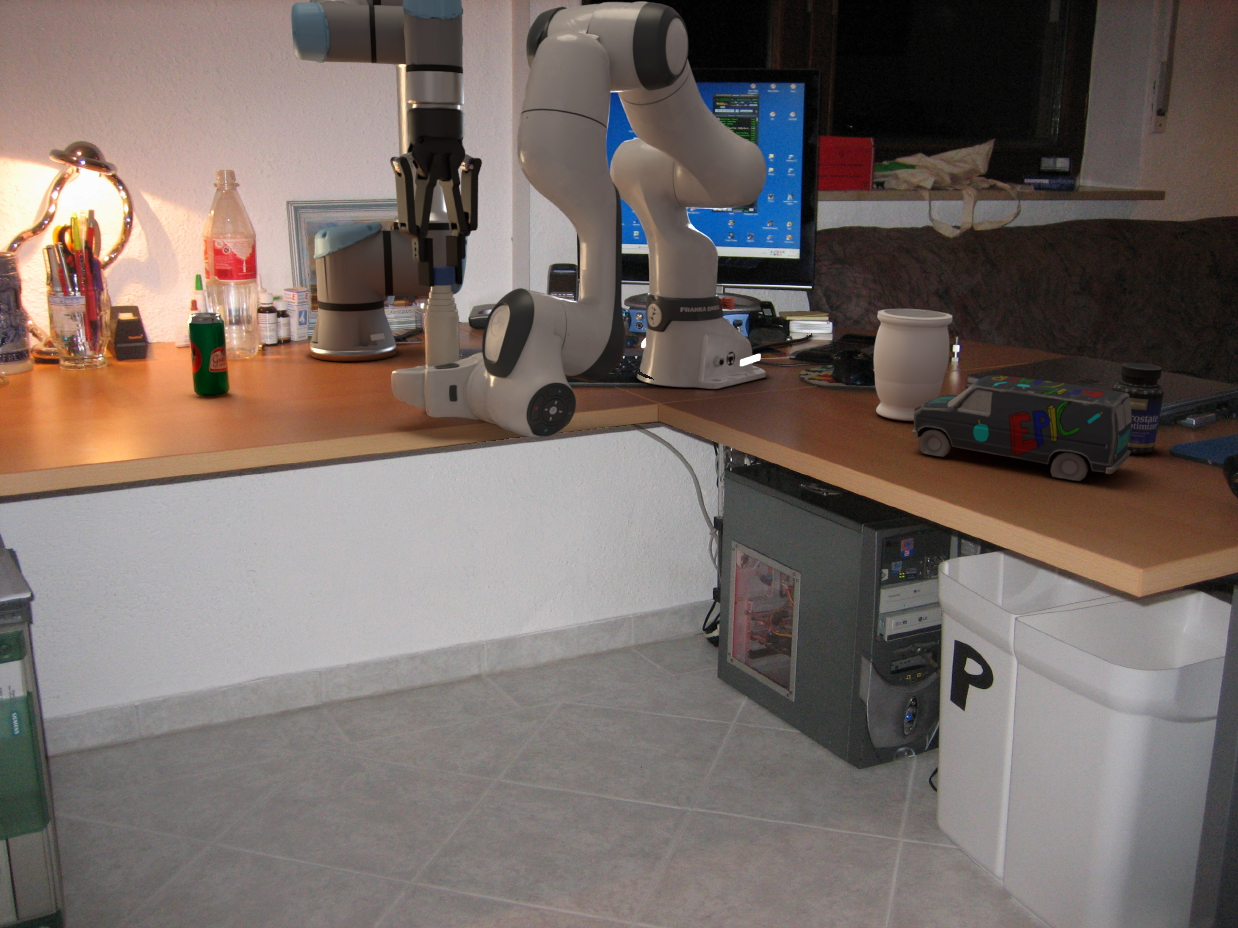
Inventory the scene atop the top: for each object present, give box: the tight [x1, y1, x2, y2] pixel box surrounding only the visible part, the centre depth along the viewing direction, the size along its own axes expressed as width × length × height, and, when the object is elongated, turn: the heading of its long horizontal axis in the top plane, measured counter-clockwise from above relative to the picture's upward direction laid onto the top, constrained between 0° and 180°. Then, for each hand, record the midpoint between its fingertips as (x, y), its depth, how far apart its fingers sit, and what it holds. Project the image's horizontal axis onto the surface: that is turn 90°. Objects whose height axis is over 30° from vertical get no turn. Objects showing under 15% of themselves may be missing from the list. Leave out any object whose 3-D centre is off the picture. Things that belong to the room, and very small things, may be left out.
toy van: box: [911, 374, 1133, 482], centre depth 133 cm, size 11×25×10 cm, turn 54°
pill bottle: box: [1111, 362, 1165, 455], centre depth 139 cm, size 6×6×11 cm
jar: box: [873, 308, 953, 422], centre depth 154 cm, size 11×10×15 cm
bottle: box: [423, 285, 461, 366], centre depth 151 cm, size 5×5×20 cm
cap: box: [434, 265, 455, 286], centre depth 148 cm, size 4×4×2 cm
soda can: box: [187, 312, 231, 398], centre depth 160 cm, size 5×5×12 cm
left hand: (440, 284), depth 149 cm, fingers closed on cap, 4 cm apart
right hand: (439, 369), depth 153 cm, fingers closed on bottle, 5 cm apart
